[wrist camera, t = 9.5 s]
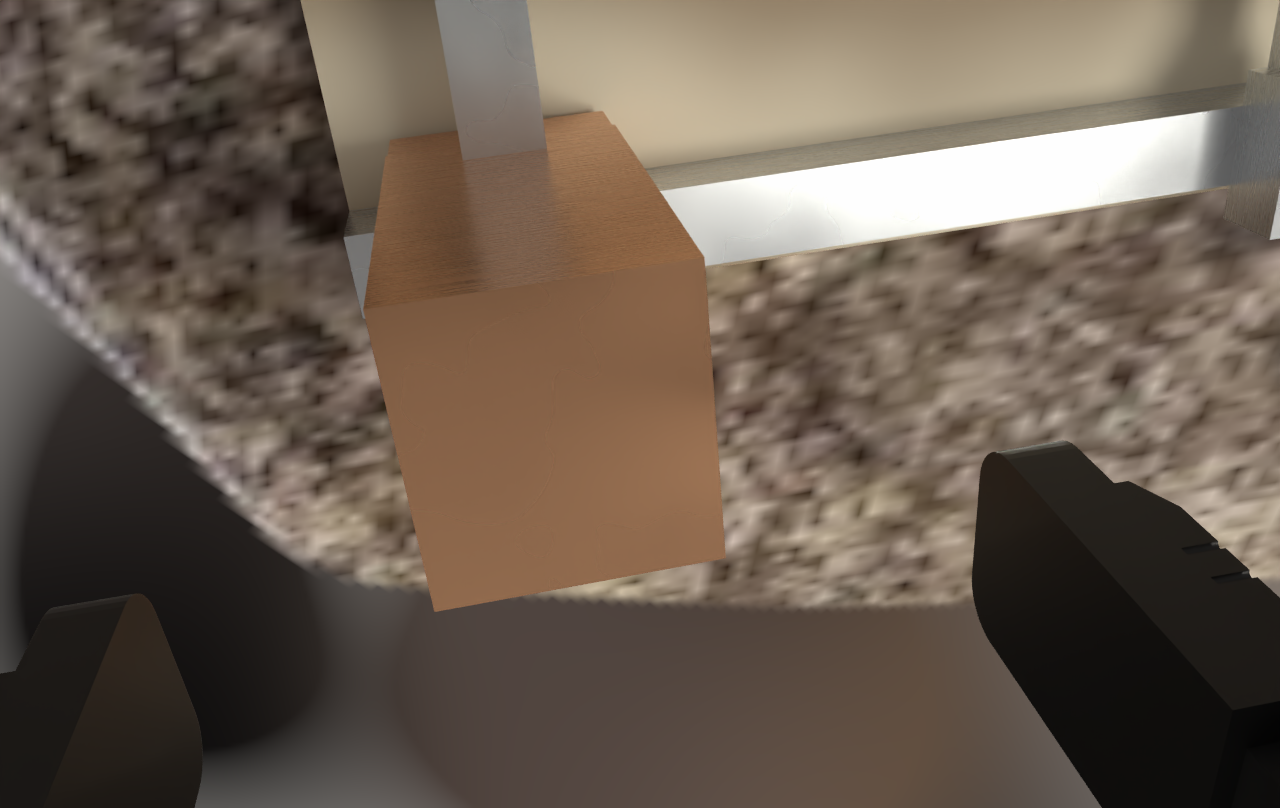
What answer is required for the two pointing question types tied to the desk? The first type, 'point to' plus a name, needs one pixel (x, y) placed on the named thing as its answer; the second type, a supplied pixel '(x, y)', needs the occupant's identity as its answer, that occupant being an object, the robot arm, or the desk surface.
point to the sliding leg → (539, 338)
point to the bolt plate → (781, 69)
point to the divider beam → (971, 174)
